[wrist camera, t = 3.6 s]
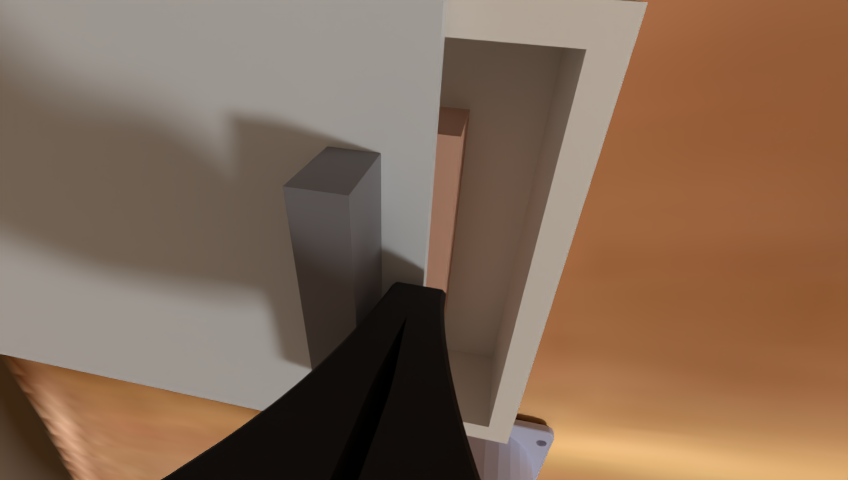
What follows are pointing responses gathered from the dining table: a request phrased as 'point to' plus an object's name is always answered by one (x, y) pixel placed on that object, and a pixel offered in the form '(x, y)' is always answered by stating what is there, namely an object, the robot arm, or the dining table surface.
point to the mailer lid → (211, 182)
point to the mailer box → (515, 178)
